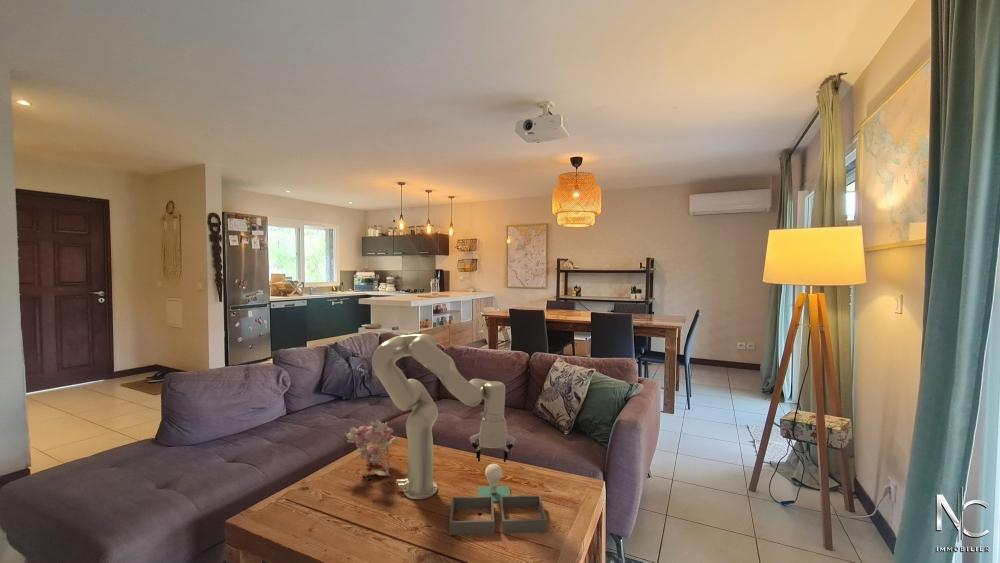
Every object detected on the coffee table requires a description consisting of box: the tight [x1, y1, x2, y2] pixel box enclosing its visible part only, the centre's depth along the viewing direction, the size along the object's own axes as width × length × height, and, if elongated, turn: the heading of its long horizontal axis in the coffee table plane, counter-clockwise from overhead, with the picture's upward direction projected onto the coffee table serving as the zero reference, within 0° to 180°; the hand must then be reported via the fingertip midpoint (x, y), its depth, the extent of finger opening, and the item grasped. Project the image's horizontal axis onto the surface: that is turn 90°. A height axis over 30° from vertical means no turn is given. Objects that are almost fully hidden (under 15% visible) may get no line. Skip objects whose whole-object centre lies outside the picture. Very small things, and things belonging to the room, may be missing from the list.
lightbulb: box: [484, 463, 503, 494], centre depth 155 cm, size 6×6×11 cm
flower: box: [344, 419, 403, 478], centre depth 173 cm, size 20×22×25 cm
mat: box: [477, 485, 511, 504], centre depth 155 cm, size 12×10×1 cm
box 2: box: [499, 494, 548, 534], centre depth 141 cm, size 14×14×4 cm
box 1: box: [448, 496, 495, 536], centre depth 140 cm, size 14×14×4 cm
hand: (491, 460), depth 155 cm, fingers open, 9 cm apart
